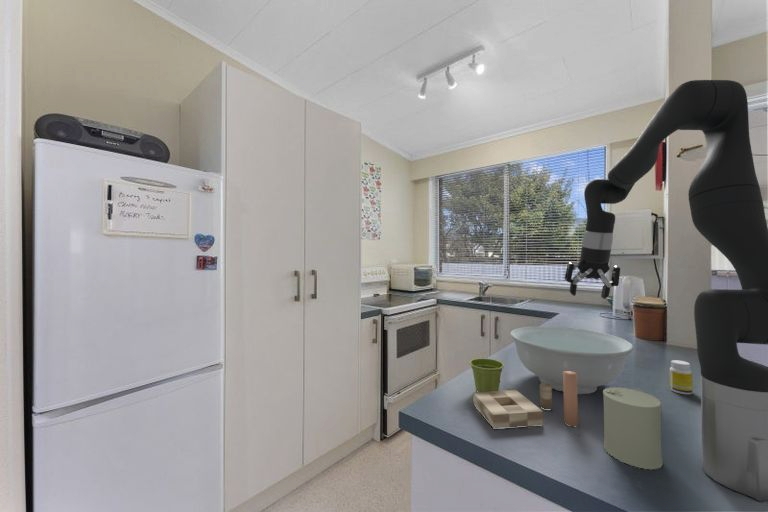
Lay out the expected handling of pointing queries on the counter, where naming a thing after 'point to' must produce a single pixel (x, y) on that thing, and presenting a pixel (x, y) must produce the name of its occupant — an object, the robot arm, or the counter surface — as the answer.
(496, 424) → the socket block
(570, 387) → the long dowel
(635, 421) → the can
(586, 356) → the bowl
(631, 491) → the counter surface
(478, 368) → the plant pot
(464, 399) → the counter surface
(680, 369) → the supplement bottle
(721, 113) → the robot arm
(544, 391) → the short dowel
